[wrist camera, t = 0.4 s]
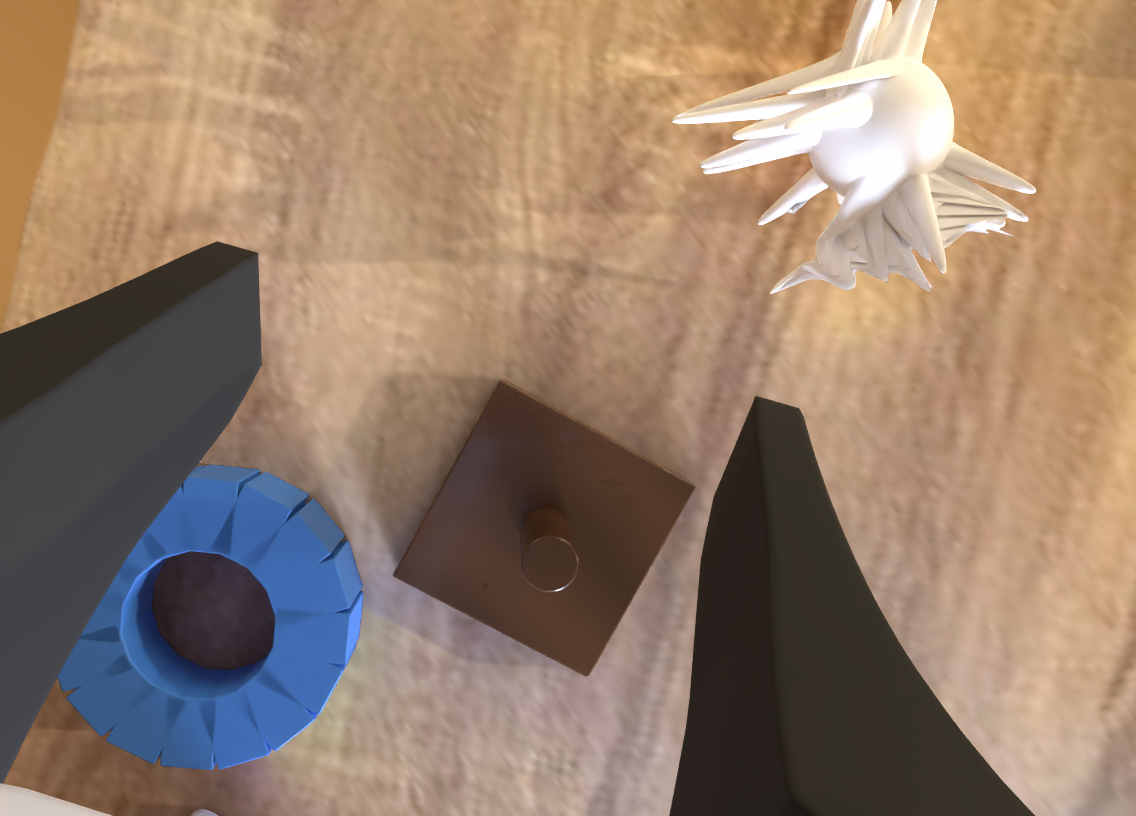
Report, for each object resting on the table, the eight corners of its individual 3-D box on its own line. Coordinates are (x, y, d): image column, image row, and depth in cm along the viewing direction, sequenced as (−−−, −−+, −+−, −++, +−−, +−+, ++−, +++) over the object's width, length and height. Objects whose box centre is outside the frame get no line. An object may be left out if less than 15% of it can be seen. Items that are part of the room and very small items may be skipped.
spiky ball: (713, 333, 41) (768, 361, 33) (616, 51, 39) (649, 6, 31) (963, 237, 41) (1079, 241, 33) (881, -51, 39) (986, -123, 31)
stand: (586, 668, 41) (600, 734, 34) (395, 569, 40) (372, 617, 34) (691, 481, 41) (726, 512, 34) (500, 377, 40) (497, 387, 33)
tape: (282, 780, 41) (262, 818, 38) (34, 657, 40) (-8, 686, 37) (410, 546, 40) (401, 565, 37) (162, 416, 39) (131, 424, 36)
